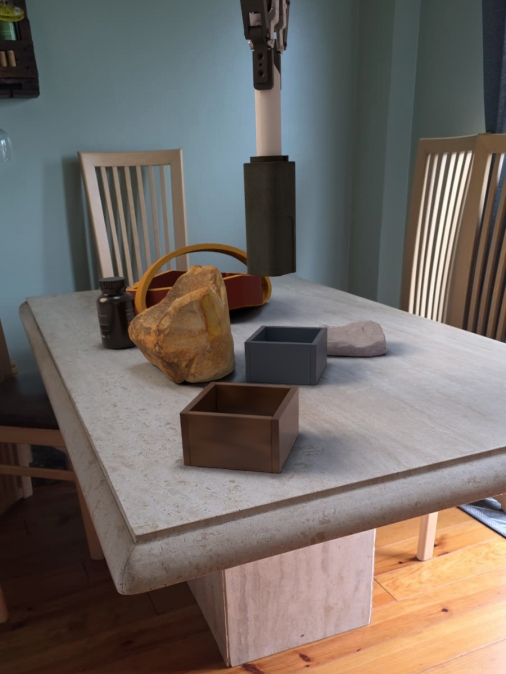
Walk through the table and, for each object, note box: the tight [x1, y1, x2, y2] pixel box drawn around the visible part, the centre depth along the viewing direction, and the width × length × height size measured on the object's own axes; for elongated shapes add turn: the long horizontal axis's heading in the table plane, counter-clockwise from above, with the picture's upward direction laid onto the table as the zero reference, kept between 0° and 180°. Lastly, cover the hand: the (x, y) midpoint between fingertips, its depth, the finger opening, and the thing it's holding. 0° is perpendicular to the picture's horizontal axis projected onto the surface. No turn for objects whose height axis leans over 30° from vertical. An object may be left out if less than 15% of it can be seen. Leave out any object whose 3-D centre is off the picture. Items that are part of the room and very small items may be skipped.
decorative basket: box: [126, 242, 273, 316], centre depth 136 cm, size 34×29×15 cm
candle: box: [242, 48, 297, 278], centre depth 73 cm, size 5×5×25 cm
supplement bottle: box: [95, 276, 136, 350], centre depth 112 cm, size 7×7×12 cm
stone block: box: [317, 320, 388, 357], centre depth 106 cm, size 12×5×10 cm
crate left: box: [179, 381, 300, 474], centre depth 69 cm, size 11×11×6 cm
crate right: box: [243, 325, 328, 386], centre depth 95 cm, size 11×11×6 cm
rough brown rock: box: [128, 264, 237, 384], centre depth 97 cm, size 23×17×15 cm
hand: (267, 90), depth 70 cm, fingers closed on candle, 3 cm apart
